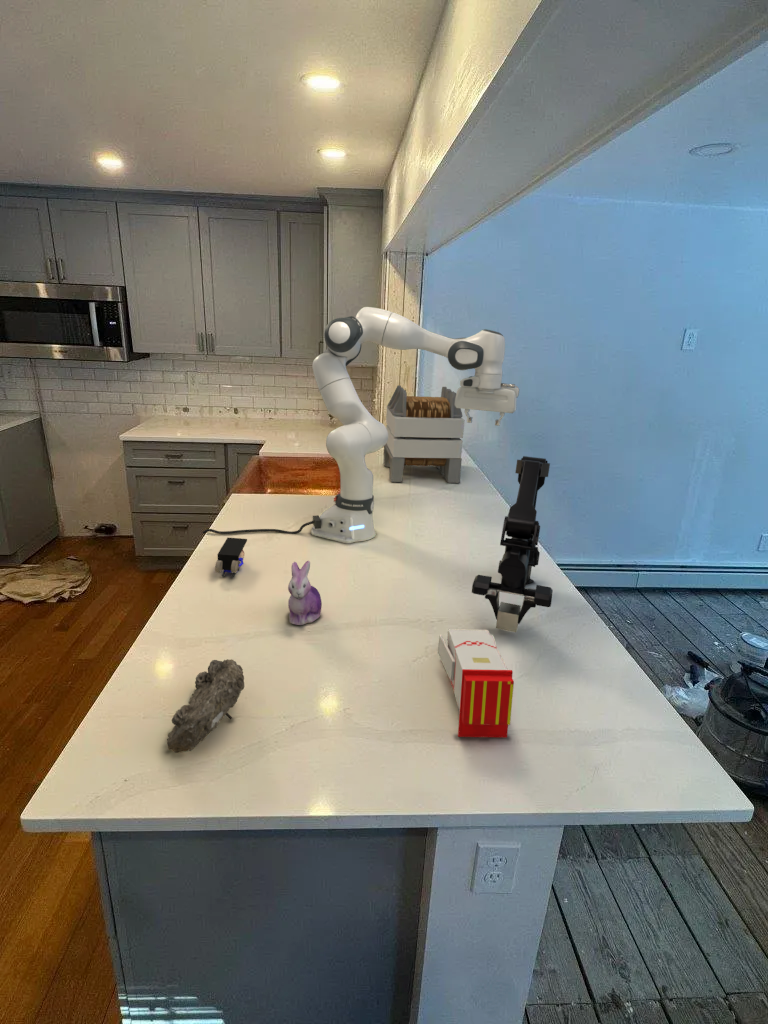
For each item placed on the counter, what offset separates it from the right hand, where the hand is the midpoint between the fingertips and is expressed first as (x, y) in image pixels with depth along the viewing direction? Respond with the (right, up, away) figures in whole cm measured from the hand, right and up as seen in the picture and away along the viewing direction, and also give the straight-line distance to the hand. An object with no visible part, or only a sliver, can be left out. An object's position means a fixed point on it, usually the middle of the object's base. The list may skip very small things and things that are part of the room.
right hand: (508, 621), depth 140 cm
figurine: (-51, 0, +4) cm, 51 cm away
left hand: (+3, +57, +50) cm, 75 cm away
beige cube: (0, -1, 0) cm, 1 cm away
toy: (-13, -11, -22) cm, 27 cm away
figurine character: (-76, +10, +27) cm, 81 cm away
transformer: (-13, +46, +135) cm, 143 cm away
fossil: (-63, -12, -32) cm, 72 cm away
